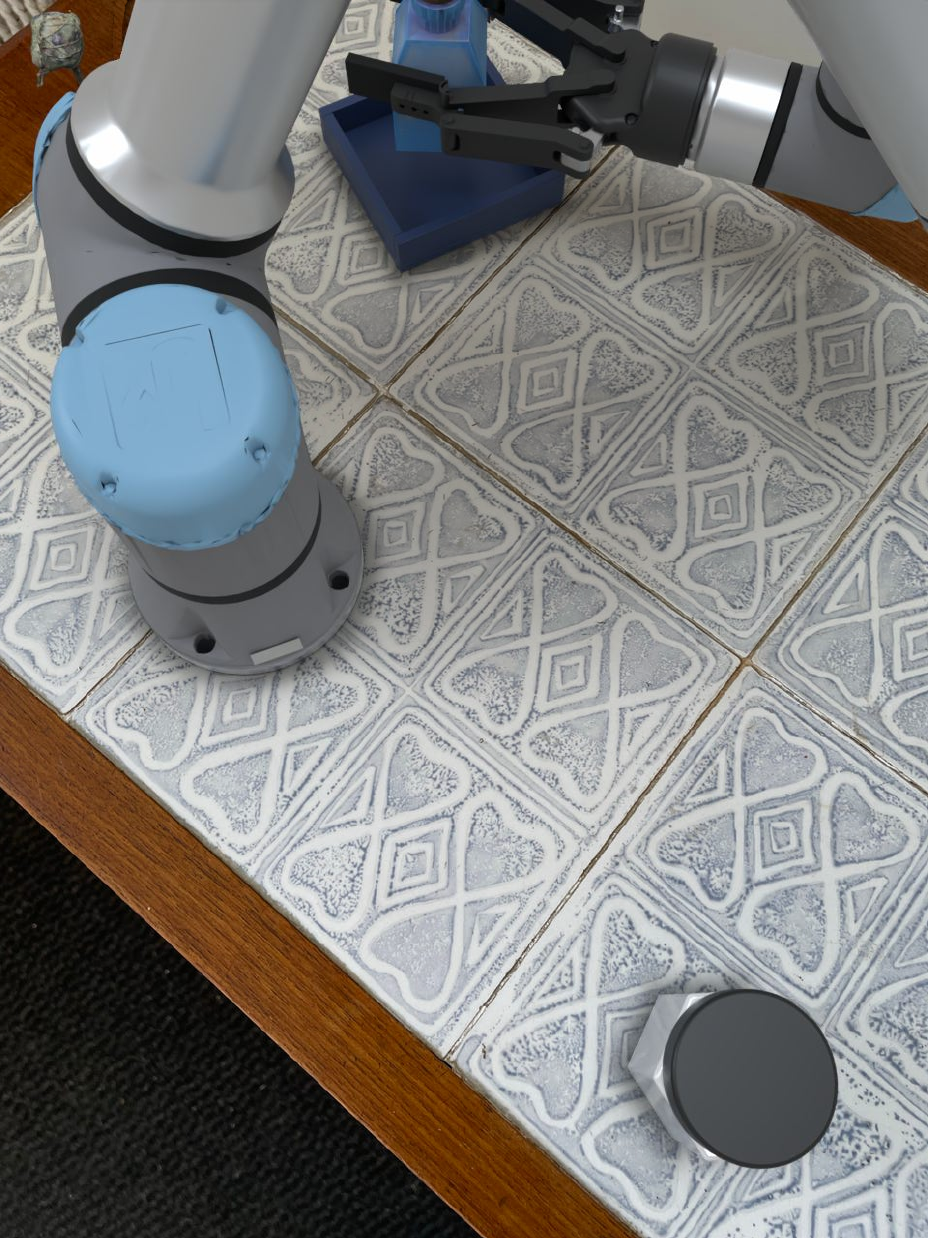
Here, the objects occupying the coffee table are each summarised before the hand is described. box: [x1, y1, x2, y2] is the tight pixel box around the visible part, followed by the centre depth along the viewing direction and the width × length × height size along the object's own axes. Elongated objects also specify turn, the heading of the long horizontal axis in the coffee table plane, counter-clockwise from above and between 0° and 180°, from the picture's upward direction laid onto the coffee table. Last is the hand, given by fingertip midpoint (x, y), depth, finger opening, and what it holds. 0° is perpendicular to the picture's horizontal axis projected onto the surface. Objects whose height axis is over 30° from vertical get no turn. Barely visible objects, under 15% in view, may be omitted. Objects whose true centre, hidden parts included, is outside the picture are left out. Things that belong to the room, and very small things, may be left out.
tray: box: [317, 54, 567, 273], centre depth 84 cm, size 14×14×3 cm
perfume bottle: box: [391, 0, 488, 152], centre depth 75 cm, size 6×6×12 cm
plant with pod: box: [29, 11, 86, 88], centre depth 75 cm, size 8×11×20 cm
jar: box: [627, 988, 839, 1170], centre depth 60 cm, size 9×8×12 cm
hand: (370, 25), depth 75 cm, fingers closed on perfume bottle, 8 cm apart
